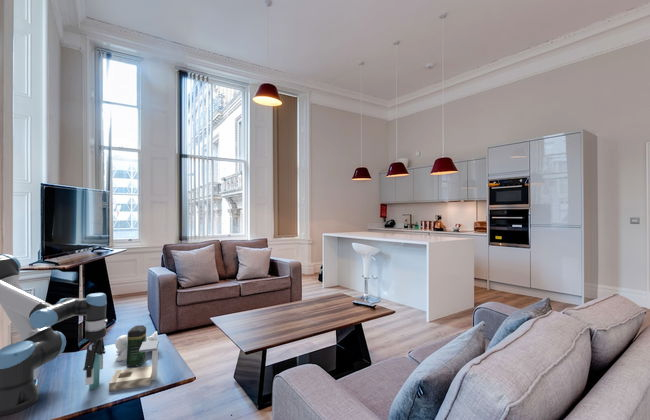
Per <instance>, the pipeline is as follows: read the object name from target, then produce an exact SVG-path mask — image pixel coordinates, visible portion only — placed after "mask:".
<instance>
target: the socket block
mask: <svg viewBox="0 0 650 420" xmlns="http://www.w3.org/2000/svg"><path fill="white" fill-rule="evenodd" d="M152 381H153V380H152V365H147V366H137V367H130V368H125V369H117V370H115V372H114V374H113V376H112V378H111V379H110V381H109V383H108V392H113V391H119V390H125V389H132V388H134V389H135V388H139V387H145V386H150V385H151V384H152Z"/></svg>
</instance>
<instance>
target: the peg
mask: <svg viewBox="0 0 650 420" xmlns="http://www.w3.org/2000/svg"><path fill="white" fill-rule="evenodd" d="M93 368H94V383H93V384H88V389H89V390H95V389H97V388H99V387H100V371H101V369H100V354H96V356H95V361H94V365H93Z"/></svg>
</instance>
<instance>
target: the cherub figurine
mask: <svg viewBox="0 0 650 420" xmlns="http://www.w3.org/2000/svg"><path fill="white" fill-rule="evenodd" d="M127 337H128V334H122V335H120V336H119V337H117V338H116V339H115V343H114V344H115V348H116V349H117V350H116V353H117V354H119V355H118V356H117V357H116V358H115V361H116V362H122V361H126V362H127V345H128V338H127ZM155 340H158V331H157V330H156V331H154V333H152V334H151V335H149V336H147V334H146V341H155Z"/></svg>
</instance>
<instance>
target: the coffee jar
mask: <svg viewBox="0 0 650 420" xmlns="http://www.w3.org/2000/svg"><path fill="white" fill-rule="evenodd" d="M127 335H128V337H127V338H128V345H127V361H126V364H125V365H126V367H130V368H136V367H139V366H141V365H143V363H144V362H145V361H146V352H139V349H140V347H141V345H142V343H143V342H146V335H147V327H146V326H145V325H143V324H142V325H134V326H133V327H132V328H130V329H129V330H128V331H127Z"/></svg>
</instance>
